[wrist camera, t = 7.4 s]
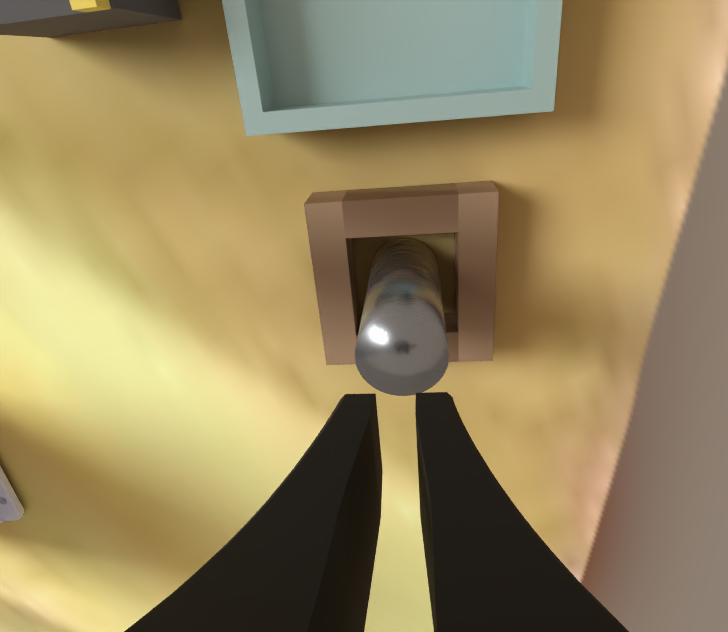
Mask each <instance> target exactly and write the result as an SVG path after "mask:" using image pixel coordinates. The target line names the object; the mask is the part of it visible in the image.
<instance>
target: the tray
mask: <svg viewBox="0 0 728 632" xmlns="http://www.w3.org/2000/svg"><path fill="white" fill-rule="evenodd" d="M562 1H563V0H222V5H223V10H224V16H225V21H226V27H227V32H228V38H229V43H230V49H231V54H232V60H233V66H234V71H235V77H236V82H237V88H238V93H239V99H240V104H241V110H242V115H243V121H244V126H245V132H246V136H254V135H266V134H279V133H291V132H303V131H316V130H328V129H340V128H353V127H365V126H377V125H390V124H402V123H414V122H427V121H439V120H451V119H464V118H476V117H488V116H501V115H513V114H526V113H538V112H550V111H554V102H555V90H556V77H557V64H558V52H559V39H560V26H561V14H562Z"/></svg>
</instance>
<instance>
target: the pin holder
mask: <svg viewBox="0 0 728 632" xmlns="http://www.w3.org/2000/svg"><path fill="white" fill-rule="evenodd" d="M498 200H499V191H498V190H497V188H496V186H495V185H494V183H493V182H492V181H481V182H466V183H451V184H436V185H421V186H406V187H391V188H376V189H361V190H346V191H331V192H316V193H312V194H311V195H310V197H309V198H308V199H307V201H306V202H305V203H304V207H305V214H306V221H307V229H308V236H309V243H310V250H311V257H312V264H313V271H314V279H315V286H316V293H317V300H318V307H319V314H320V321H321V329H322V336H323V343H324V350H325V357H326V364H327V365H343V364H356V362H355V348H356V343H357V338H358V333H359V328H360V323H361V318H362V316H360V314H359V304H358V294H357V284H356V274H355V264H354V254H353V244H352V238H362V237H380V236H398V235H416V234H434V233H452V232H455V313H444V320H445V328H446V336H447V344H448V353H449V361H448V362H457V361H493V340H494V312H495V284H496V256H497V228H498Z"/></svg>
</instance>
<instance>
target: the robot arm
mask: <svg viewBox="0 0 728 632" xmlns="http://www.w3.org/2000/svg"><path fill="white" fill-rule="evenodd" d="M416 431H417V452H418V473H419V493H420V514H421V525H422V533H423V542H424V550H425V559H426V567H427V576H428V584H429V592H430V601H431V609H432V618H433V626H434V632H629V631H628V630H627V629H626V628H625V627H624V626H623V625H622V624H621V623H620V622H619V621H618V620H617V619H616V618H615V617H614V616H613V615H612V614H611V613H610V612H609V611H608V610H607V609H606V608H605V607H604V606H603V605H602V604H601V603H600V602H599V601H598V600H597V599H596V598H595V597H594V596H593V595H592V594H591V593H590V592H589V591H588V590H587V589H586V588H585V587H584V586H583V585H582V584H581V583H580V582H579V581H578V580H577V579H576V578H575V577H574V576H573V574H572V573H571V572H570V571H569V570H568V569H567V568H566V567H565V566H564V564H563V563H562V562H561V561H560V560H559V559H558V558H557V557H556V555H555V554H554V553H553V552H552V551H551V550H550V549H549V547H548V546H547V545H546V544H545V543H544V541H543V540H542V539H541V538H540V537H539V535H538V534H537V533H536V532H535V531H534V530H533V528H532V527H531V526H530V524H529V523H528V522H527V521H526V519H525V518H524V517H523V516H522V514H521V513H520V512H519V510H518V509H517V508H516V506H515V505H514V504H513V502H512V501H511V499H510V498H509V497H508V495H507V494H506V492H505V491H504V490H503V488H502V487H501V485H500V484H499V483H498V481H497V480H496V478H495V477H494V475H493V474H492V472H491V471H490V469H489V467H488V466H487V464H486V462H485V461H484V459H483V458H482V456H481V454H480V453H479V451H478V450H477V448H476V446H475V445H474V443H473V441H472V439H471V437H470V436H469V434H468V432H467V430H466V428H465V426H464V424H463V422H462V420H461V418H460V416H459V414H458V411H457V409H456V406H455V404H454V401H453V397H452V396H451V395H449V394H448V393H447V392H436V393H416ZM381 497H382V461H381V450H380V439H379V428H378V417H377V406H376V395H375V394H345V395H344V396H343V397H342V398H341V399H340V401H339V403H338V405H337V406H336V408H335V409H334V411H333V413H332V414H331V416H330V418H329V419H328V421H327V422H326V424H325V425H324V427H323V428H322V430H321V431H320V433H319V434H318V436H317V437H316V439H315V440H314V441H313V443H312V444H311V446H310V447H309V448H308V450H307V451H306V452H305V454H304V455H303V457H302V458H301V459H300V461H299V462H298V463H297V465H296V466H295V467H294V469H293V470H292V471H291V472H290V474H289V475H288V476H287V477H286V478H285V480H284V481H283V482H282V483H281V485H280V486H279V487H278V488H277V489H276V491H275V492H274V493H273V494H272V496H271V497H270V498H269V499H268V500H267V501H266V503H265V504H264V505H263V506H262V507H261V508H260V509H259V510H258V512H257V513H256V514H255V515H254V516H253V517H252V518H251V519H250V520H249V521H248V522H247V523H246V525H245V526H244V527H243V528H242V529H241V530H240V531H239V532H238V533H237V534H236V535H235V536H234V537H233V538H232V539H231V540H230V541H229V542H228V543H227V544H226V545H225V546H224V547H223V548H222V549H221V550H219V551H218V552H217V553H216V554H215V555H214V556H213V557H212V558H211V559H210V560H209V561H208V562H207V563H206V564H205V565H204V566H202V567H201V568H200V569H199V570H198V571H197V572H196V573H195V574H194V575H193V576H192V577H190V578H189V579H188V580H187V581H186V582H185V583H184V584H182V585H181V586H180V587H179V588H178V589H177V590H176V591H174V592H173V593H172V594H171V595H170V596H168V597H167V598H166V599H165V600H163V601H162V602H161V603H160V604H158V605H157V606H156V607H155V608H153V609H152V610H151V611H150V612H148V613H147V614H146V615H145V616H143V617H142V618H141V619H140V620H138V621H137V622H136V623H135V624H133V625H132V626H131V627H130V628H128V629H127V630H126V631H124V632H364V628H365V621H366V614H367V608H368V601H369V594H370V587H371V581H372V574H373V567H374V560H375V553H376V546H377V540H378V533H379V526H380V518H381ZM23 514H24V509H23V507H22V505H21V503H20V501H19V499H18V498H17V496H16V494H15V492H14V490H13V488H12V487H11V485H10V483H9V481H8V479H7V477H6V475H5V474H4V472H3V470H2V468H1V466H0V524H1V523H2V522H3V521H17V520H19V519H20V518H21V517H22V516H23Z"/></svg>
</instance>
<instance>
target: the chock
mask: <svg viewBox="0 0 728 632" xmlns="http://www.w3.org/2000/svg"><path fill="white" fill-rule="evenodd" d="M175 20H182V18H181V13H180V9H179V5H178V0H0V35H15V36H32V37H56V36H63V35H71V34H78V33H86V32H93V31H101V30H108V29H116V28H123V27H131V26H138V25H146V24H153V23H161V22H168V21H175Z"/></svg>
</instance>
